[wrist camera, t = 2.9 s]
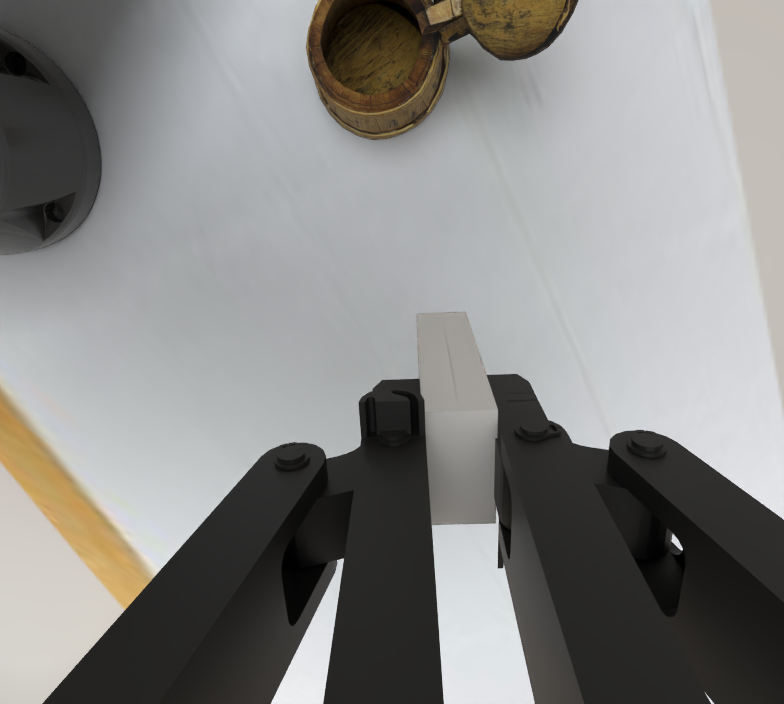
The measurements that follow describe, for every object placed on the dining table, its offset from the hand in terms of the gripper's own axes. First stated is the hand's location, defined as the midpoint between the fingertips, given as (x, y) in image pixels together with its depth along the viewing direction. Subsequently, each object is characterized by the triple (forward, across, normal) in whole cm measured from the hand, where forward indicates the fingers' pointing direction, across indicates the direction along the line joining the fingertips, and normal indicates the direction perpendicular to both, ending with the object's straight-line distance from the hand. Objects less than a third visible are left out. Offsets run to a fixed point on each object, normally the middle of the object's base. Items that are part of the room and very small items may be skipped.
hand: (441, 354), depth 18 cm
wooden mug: (+26, 0, +11) cm, 28 cm away
